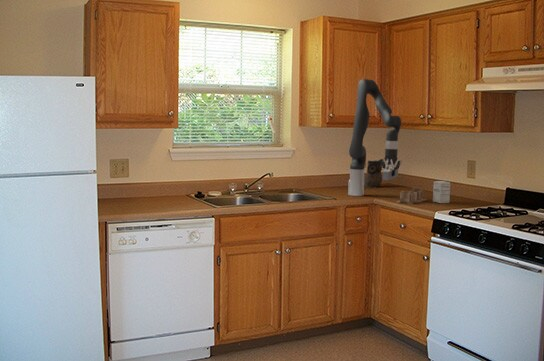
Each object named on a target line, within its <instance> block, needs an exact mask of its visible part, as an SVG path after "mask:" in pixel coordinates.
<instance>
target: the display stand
mask: <svg viewBox="0 0 544 361" xmlns="http://www.w3.org/2000/svg"><path fill="white" fill-rule="evenodd" d="M423 197H424V190H423V188H414V187H413V188H412V190H409V191H407V190H401V191H400V193H399V200H396V203H398V204H406V205H414V203H415V204H418V203H422V202H425V201H426V200H427V199H426V198H423Z"/></svg>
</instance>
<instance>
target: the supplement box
mask: <svg viewBox="0 0 544 361" xmlns="http://www.w3.org/2000/svg"><path fill="white" fill-rule="evenodd" d="M432 190H433V192H432V202H434V203H438V204H449V203H450V197H451V196H450V194H451V182H449V181H444V180H435V181H433V189H432Z"/></svg>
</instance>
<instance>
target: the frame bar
mask: <svg viewBox="0 0 544 361" xmlns="http://www.w3.org/2000/svg"><path fill="white" fill-rule="evenodd" d="M398 177H399V169H397V170H395V175H394V176H392V167H389V169H388V170H385V169H384V170H383V171H382V181H390V180H392V179H396V178H398Z"/></svg>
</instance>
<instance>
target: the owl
mask: <svg viewBox="0 0 544 361" xmlns="http://www.w3.org/2000/svg"><path fill="white" fill-rule="evenodd" d="M381 159H382V158H380V159H373V160H372V159H371V160H369V159H368V161H367V164H366V172H365V178H364V187H366V188H369V189H370V188H371V189H375V187H376V188H381V185H382V181H383V173H382V170H383V167H382V164H381V161H380V160H381Z"/></svg>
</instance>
